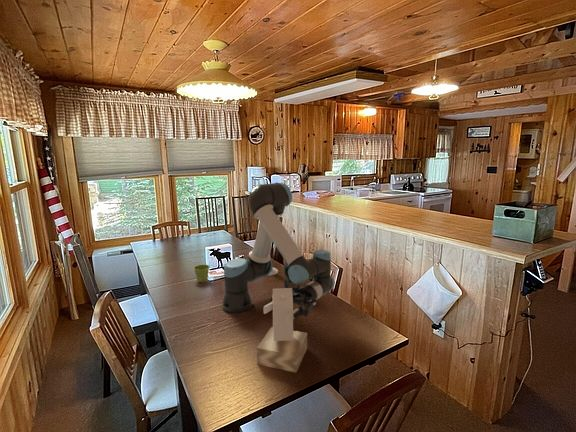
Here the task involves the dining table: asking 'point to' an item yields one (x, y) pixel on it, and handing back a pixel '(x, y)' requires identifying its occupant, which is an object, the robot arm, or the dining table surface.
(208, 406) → the dining table surface
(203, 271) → the plant pot
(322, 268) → the robot arm
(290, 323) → the milk carton
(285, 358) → the block
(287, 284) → the canister
